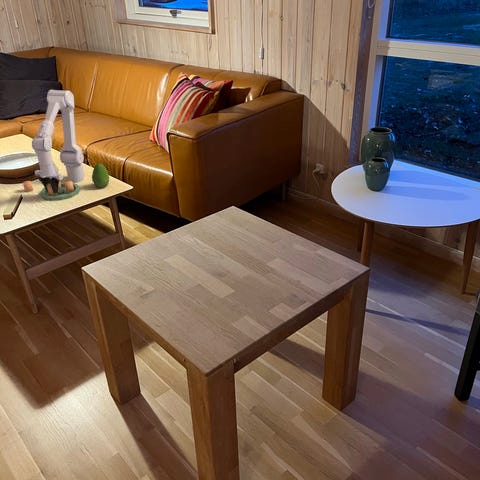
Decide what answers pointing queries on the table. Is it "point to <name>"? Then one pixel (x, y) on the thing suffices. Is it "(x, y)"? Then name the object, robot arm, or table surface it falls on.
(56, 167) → the flask
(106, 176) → the avocado
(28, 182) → the brown egg
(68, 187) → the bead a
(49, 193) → the pale orange egg
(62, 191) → the tray
